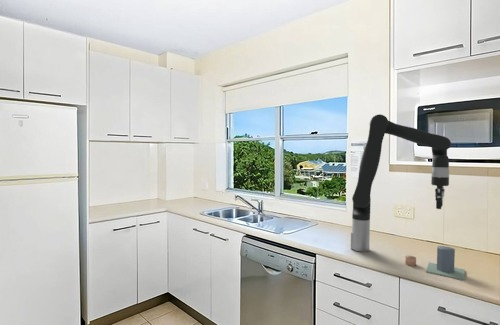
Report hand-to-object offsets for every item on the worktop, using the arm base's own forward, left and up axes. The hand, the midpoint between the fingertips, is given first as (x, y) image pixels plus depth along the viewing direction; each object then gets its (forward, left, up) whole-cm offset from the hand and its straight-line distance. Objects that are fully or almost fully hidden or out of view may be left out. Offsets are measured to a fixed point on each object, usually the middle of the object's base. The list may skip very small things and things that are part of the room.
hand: (439, 207), depth 149 cm
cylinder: (-10, -18, -26) cm, 34 cm away
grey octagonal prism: (+4, -18, -26) cm, 32 cm away
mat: (+4, -18, -26) cm, 32 cm away
